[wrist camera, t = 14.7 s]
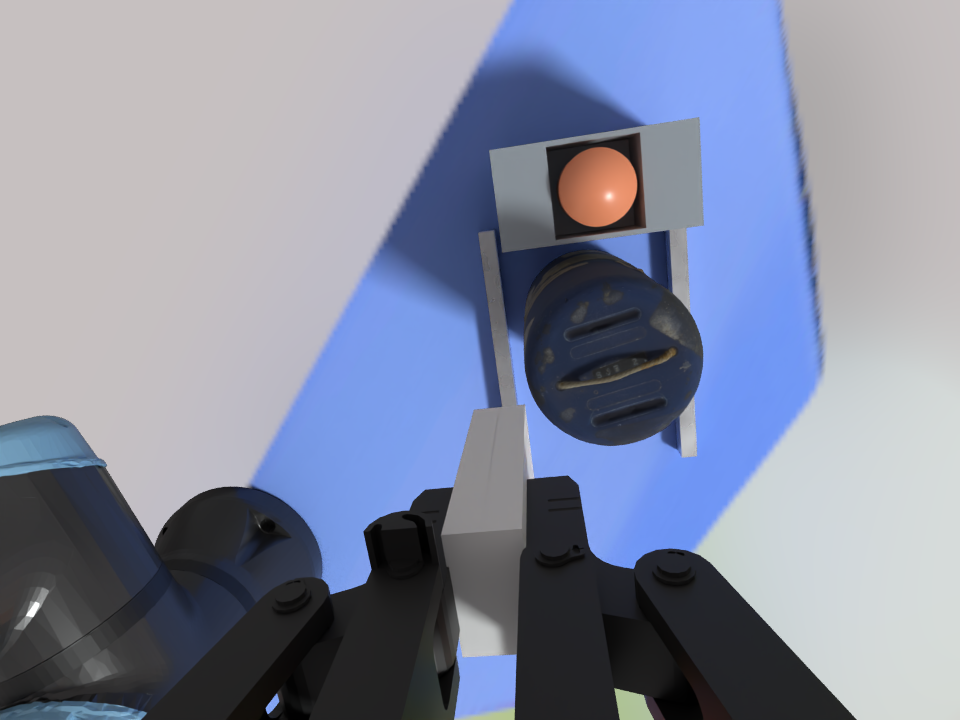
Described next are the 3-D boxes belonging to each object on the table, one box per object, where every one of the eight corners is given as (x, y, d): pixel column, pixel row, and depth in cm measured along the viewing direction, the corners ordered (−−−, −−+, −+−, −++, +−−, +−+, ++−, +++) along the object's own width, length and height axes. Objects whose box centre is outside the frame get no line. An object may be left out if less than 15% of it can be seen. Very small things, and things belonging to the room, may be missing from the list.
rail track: (511, 465, 50) (511, 473, 49) (479, 231, 45) (478, 232, 44) (692, 448, 49) (697, 456, 47) (679, 203, 44) (685, 203, 42)
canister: (520, 252, 45) (515, 286, 28) (644, 242, 44) (717, 270, 27) (528, 369, 48) (528, 466, 31) (646, 362, 47) (714, 458, 30)
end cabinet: (508, 240, 45) (502, 252, 36) (497, 154, 44) (488, 143, 34) (665, 219, 44) (703, 225, 34) (660, 129, 42) (699, 109, 33)
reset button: (559, 227, 39) (563, 231, 34) (552, 158, 37) (555, 153, 33) (627, 218, 38) (639, 221, 34) (622, 147, 37) (634, 141, 33)
